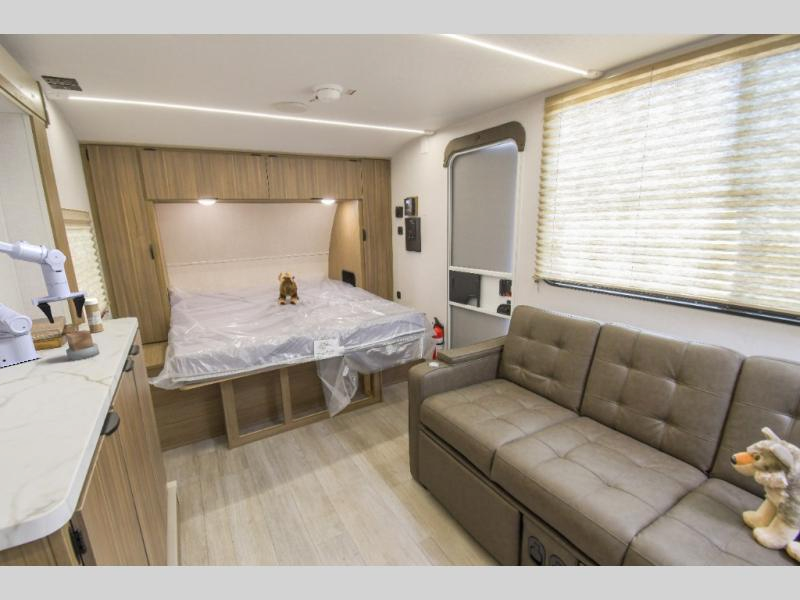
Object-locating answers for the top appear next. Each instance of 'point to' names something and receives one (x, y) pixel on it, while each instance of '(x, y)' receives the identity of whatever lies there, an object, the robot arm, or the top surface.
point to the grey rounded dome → (83, 353)
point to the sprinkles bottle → (93, 315)
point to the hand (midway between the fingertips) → (66, 320)
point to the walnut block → (79, 340)
